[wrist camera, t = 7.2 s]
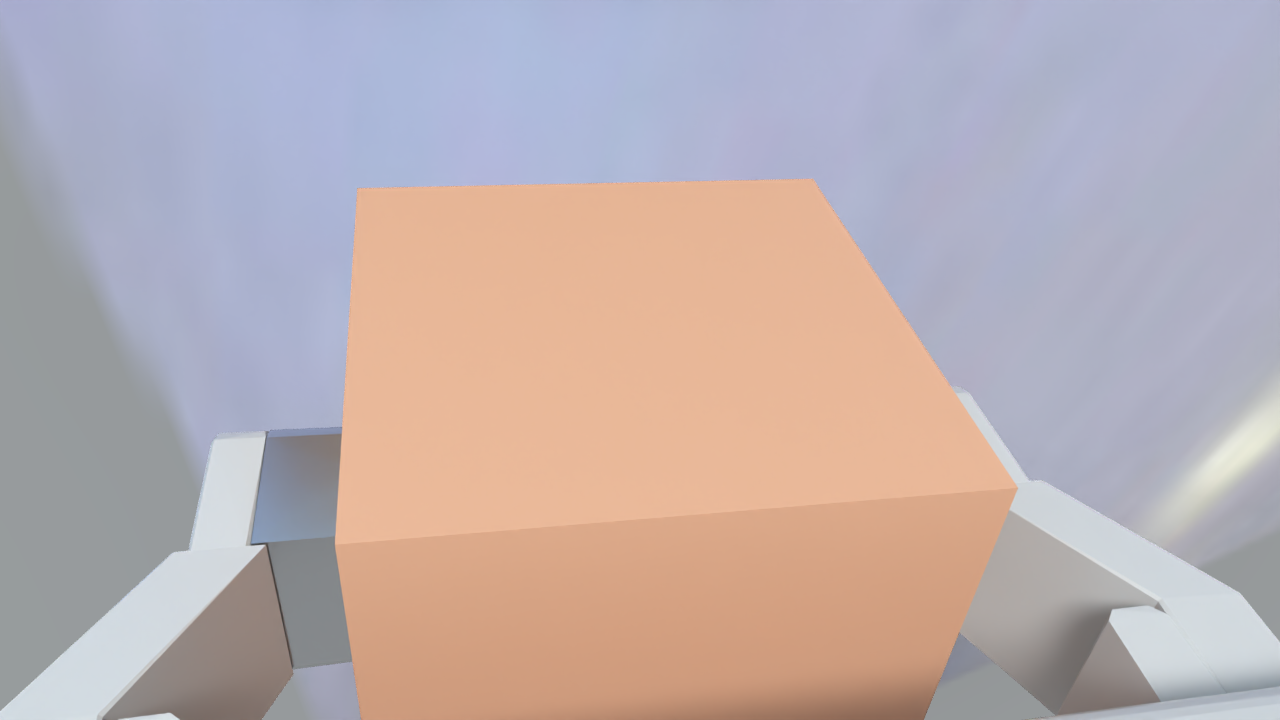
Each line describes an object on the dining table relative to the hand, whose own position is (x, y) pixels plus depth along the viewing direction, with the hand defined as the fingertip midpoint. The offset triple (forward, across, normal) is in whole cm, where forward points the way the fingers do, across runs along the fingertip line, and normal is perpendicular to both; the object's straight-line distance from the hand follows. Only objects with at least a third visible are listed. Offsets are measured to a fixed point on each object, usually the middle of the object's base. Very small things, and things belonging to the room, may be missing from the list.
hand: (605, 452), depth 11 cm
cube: (+2, 0, 0) cm, 2 cm away
